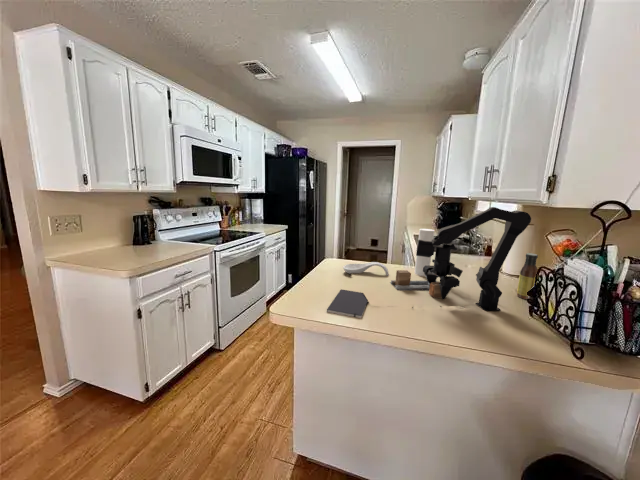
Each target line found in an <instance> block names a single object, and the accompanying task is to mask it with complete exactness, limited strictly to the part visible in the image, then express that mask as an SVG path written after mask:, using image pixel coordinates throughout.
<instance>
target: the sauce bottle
mask: <svg viewBox="0 0 640 480" xmlns="http://www.w3.org/2000/svg"><path fill="white" fill-rule="evenodd" d="M538 256H539V255H538V254H536V253H531V252H529V253H528V252H527V253H526V254H525V261H524V265H523V266H522V268H521V269H520V271H519V276H518V277H519V278H518V284H517V288H516V289H517V290H516V294H517V297H518V298H520V299H523V300H527V299H528V295H527V292H528V291H529V290H530V289H531V288H532V287H533V286H534V283H535V277H536V274H537V271H538V272H539V270H538V266H537V259H538V258H539V257H538ZM537 275H538V274H537Z"/></svg>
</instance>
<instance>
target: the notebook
mask: <svg viewBox="0 0 640 480" xmlns="http://www.w3.org/2000/svg"><path fill="white" fill-rule="evenodd" d="M368 301H369V299H368V298H367V297H366V295H365V294H364V292H361V291H360V292H359V291H356V290H347V289H341V288H340V290H339V292H338V293H337V295H335V297H334V299H333V300H332V302H331V303H330V305H329V306H328V307H327V308H326V312H327V313H331V314H332V313H333V314H338V315H342V316H348V317H354V318H361V319H362V317H363V315H364V312H365V310H366V307H367V304H368Z"/></svg>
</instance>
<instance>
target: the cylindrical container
mask: <svg viewBox="0 0 640 480" xmlns="http://www.w3.org/2000/svg"><path fill="white" fill-rule="evenodd" d="M434 238H435V229H431V228H419V231H418V240H424V241H432V240H433V239H434ZM415 257H416V258H415V265H414V275H416V276H420V277H426V276H425V274H424V272H423V267H424V266H425V265H426V266H431V262H432V261H431V260H432V256H431V257H423V256H415Z"/></svg>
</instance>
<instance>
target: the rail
mask: <svg viewBox="0 0 640 480" xmlns="http://www.w3.org/2000/svg"><path fill="white" fill-rule="evenodd" d="M395 282H396V279H395V280H390V281H389V283H390V285H391V286H393V288H395V290H397V291H406V292H407V291H409V292H410V291H427V292H429V289H430V287H429V284H428V281H427V280H410V283H409V285H395ZM436 282H438V281H437V280H436Z"/></svg>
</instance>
